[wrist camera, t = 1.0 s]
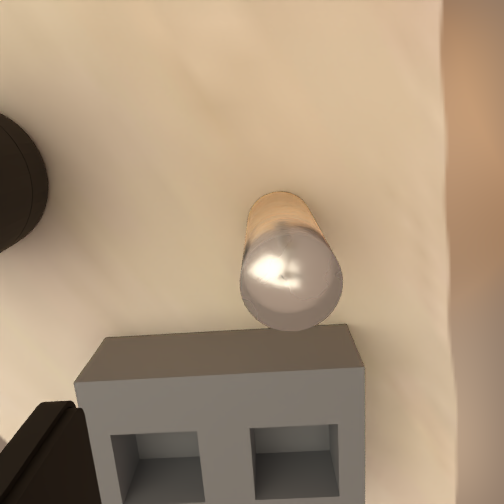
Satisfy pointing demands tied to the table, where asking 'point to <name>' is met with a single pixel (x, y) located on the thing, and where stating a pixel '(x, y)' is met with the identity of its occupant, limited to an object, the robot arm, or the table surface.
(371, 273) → the table surface
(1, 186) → the pen holder
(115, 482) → the hole block
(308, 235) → the steel pin
